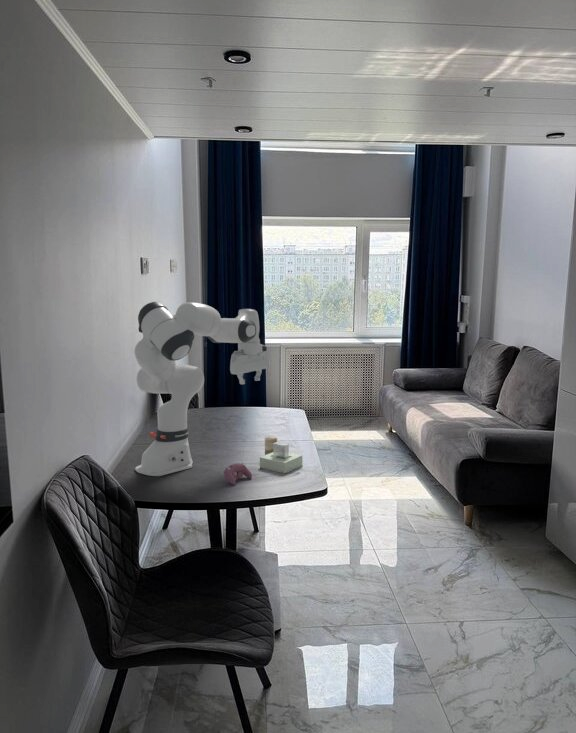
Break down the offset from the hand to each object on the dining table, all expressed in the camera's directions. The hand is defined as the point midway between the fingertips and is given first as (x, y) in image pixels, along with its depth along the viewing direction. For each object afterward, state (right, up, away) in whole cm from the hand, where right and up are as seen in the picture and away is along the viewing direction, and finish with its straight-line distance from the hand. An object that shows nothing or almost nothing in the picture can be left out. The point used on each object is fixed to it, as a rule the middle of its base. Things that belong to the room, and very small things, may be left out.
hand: (249, 382), depth 241 cm
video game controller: (-2, -34, -31) cm, 46 cm away
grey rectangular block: (+13, -32, -16) cm, 38 cm away
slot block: (+13, -32, -16) cm, 38 cm away
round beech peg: (+9, -30, -5) cm, 32 cm away
